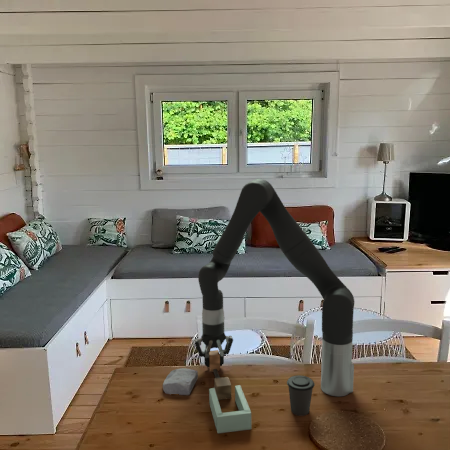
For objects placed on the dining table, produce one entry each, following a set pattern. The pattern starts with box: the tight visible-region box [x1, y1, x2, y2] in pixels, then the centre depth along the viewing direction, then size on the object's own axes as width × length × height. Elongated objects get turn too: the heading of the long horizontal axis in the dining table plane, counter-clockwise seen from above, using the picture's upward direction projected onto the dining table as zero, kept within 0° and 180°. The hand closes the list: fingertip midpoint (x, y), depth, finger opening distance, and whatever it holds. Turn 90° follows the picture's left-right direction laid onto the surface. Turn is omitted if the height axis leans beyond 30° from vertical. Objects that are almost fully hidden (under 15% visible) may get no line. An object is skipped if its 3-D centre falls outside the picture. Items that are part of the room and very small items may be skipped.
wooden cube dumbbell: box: [208, 349, 232, 401], centre depth 157 cm, size 4×21×6 cm, turn 10°
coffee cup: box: [286, 375, 316, 417], centre depth 140 cm, size 8×8×10 cm
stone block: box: [162, 367, 199, 396], centre depth 156 cm, size 12×5×10 cm
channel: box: [208, 384, 252, 434], centre depth 139 cm, size 10×15×5 cm, turn 10°
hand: (214, 365), depth 166 cm, fingers open, 4 cm apart
